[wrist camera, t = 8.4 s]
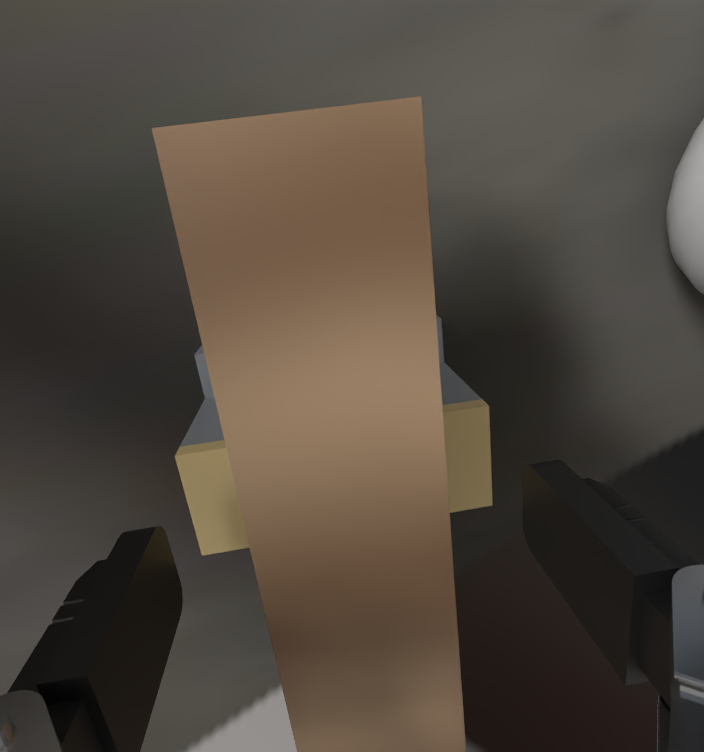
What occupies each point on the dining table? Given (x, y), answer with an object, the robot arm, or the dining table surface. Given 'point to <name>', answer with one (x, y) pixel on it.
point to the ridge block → (217, 488)
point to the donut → (688, 211)
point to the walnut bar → (330, 406)
